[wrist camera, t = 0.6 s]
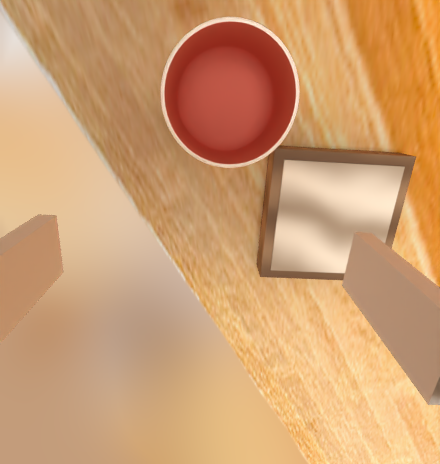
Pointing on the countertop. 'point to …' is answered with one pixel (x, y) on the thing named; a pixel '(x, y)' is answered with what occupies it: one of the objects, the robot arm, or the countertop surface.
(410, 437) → the countertop surface
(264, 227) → the stand
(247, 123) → the cup
